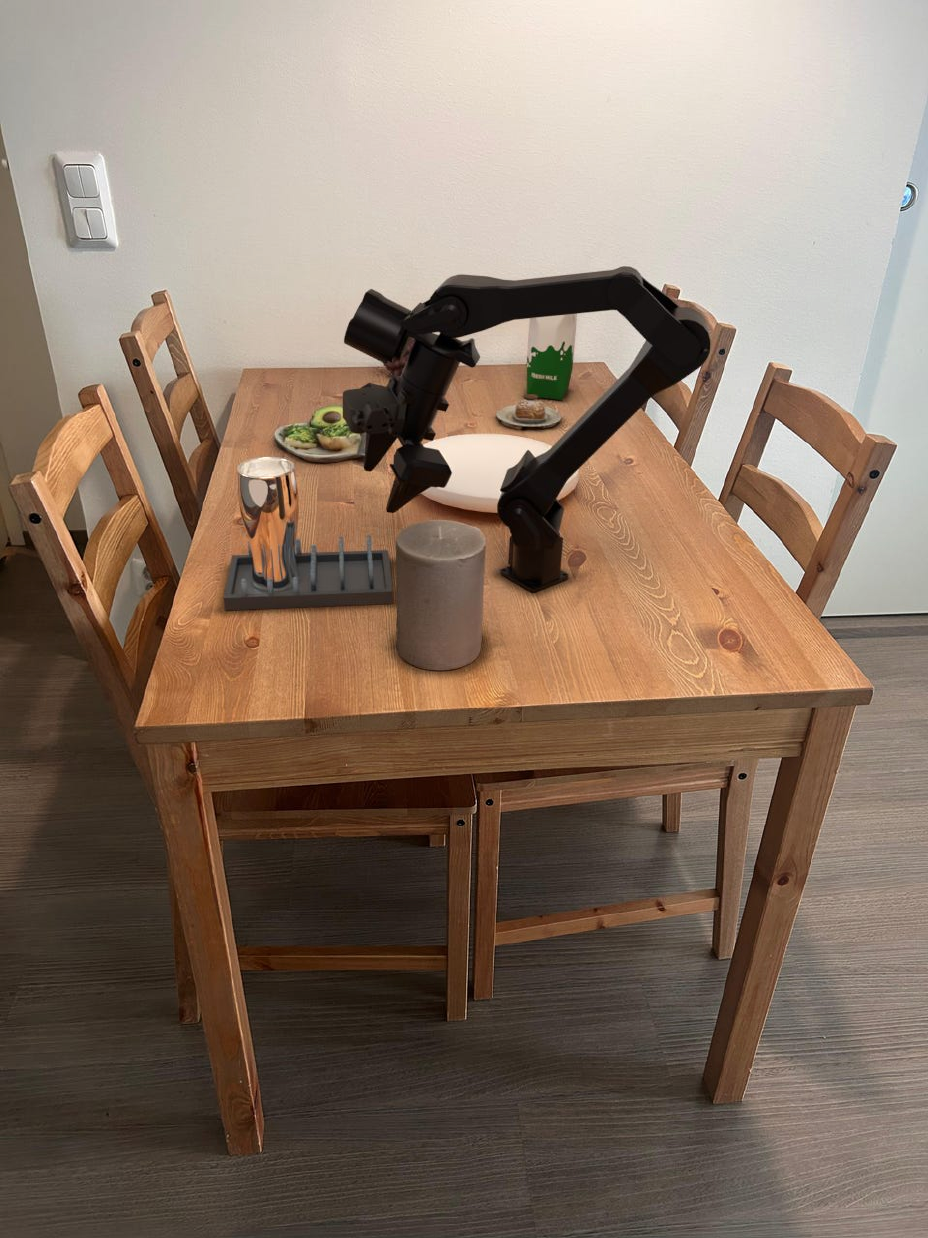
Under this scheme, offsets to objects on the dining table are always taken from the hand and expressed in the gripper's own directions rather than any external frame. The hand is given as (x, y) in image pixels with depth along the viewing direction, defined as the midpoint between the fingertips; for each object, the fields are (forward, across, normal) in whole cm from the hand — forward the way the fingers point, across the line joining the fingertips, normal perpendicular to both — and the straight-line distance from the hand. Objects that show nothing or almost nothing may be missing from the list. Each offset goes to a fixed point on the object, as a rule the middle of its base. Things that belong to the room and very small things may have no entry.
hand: (378, 490), depth 117 cm
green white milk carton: (+3, -53, +58) cm, 78 cm away
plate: (+5, -14, +27) cm, 31 cm away
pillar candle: (+5, +24, +1) cm, 25 cm away
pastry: (+4, -40, +47) cm, 62 cm away
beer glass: (+13, +4, -11) cm, 17 cm away
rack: (+12, +6, -7) cm, 15 cm away
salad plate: (+17, -40, +11) cm, 45 cm away
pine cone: (+15, -73, +39) cm, 84 cm away
